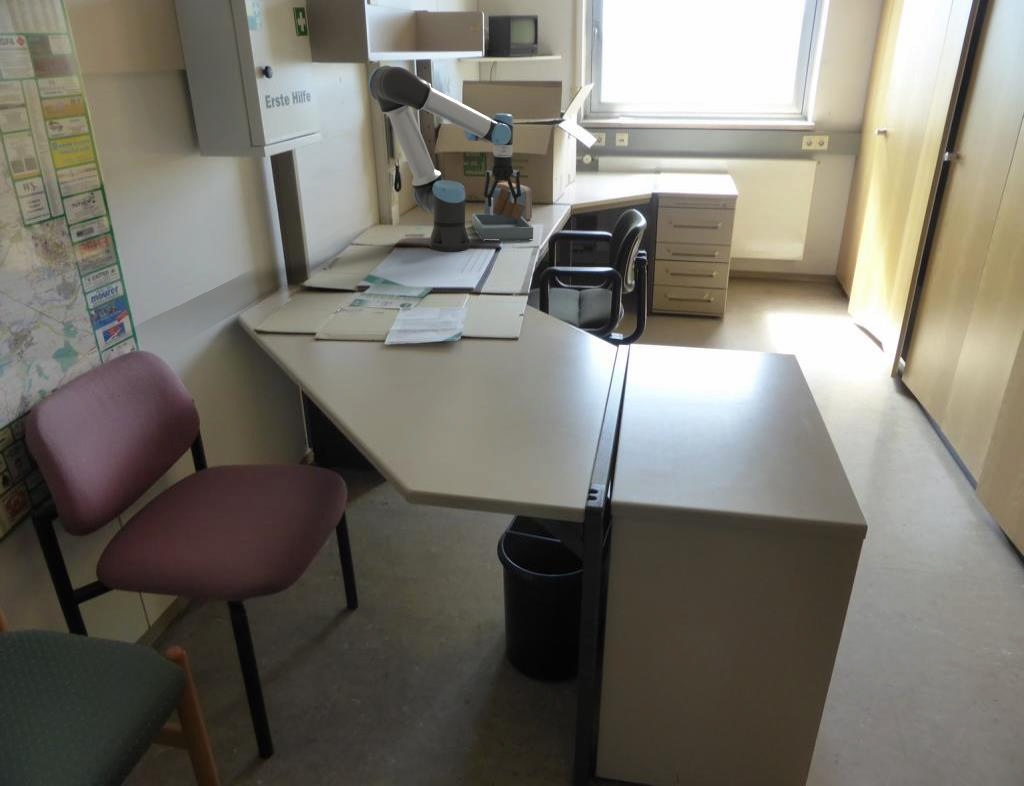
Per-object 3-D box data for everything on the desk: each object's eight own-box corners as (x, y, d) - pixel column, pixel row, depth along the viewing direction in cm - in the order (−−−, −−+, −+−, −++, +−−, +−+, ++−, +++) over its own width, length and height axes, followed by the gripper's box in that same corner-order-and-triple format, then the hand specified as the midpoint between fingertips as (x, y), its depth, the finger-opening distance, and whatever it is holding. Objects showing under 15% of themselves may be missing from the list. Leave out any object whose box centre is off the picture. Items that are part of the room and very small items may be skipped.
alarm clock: (533, 220, 323) (535, 183, 317) (506, 224, 313) (507, 186, 307) (509, 214, 334) (510, 178, 328) (481, 218, 324) (482, 181, 317)
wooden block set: (521, 226, 291) (532, 201, 288) (503, 218, 286) (514, 194, 283) (502, 215, 305) (511, 192, 302) (485, 208, 300) (494, 184, 297)
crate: (482, 241, 284) (482, 228, 282) (472, 225, 309) (472, 214, 307) (532, 240, 288) (533, 227, 286) (518, 225, 313) (518, 213, 310)
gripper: (478, 157, 280) (478, 216, 290) (530, 156, 284) (528, 216, 294) (475, 154, 287) (475, 213, 296) (526, 154, 291) (524, 212, 300)
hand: (501, 214), depth 295 cm, fingers closed on wooden block set, 8 cm apart
